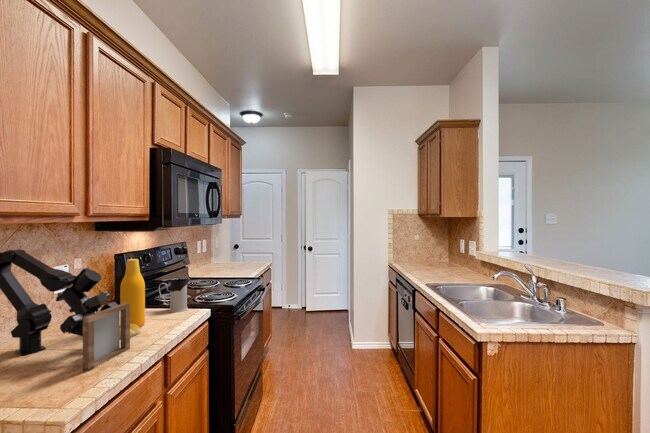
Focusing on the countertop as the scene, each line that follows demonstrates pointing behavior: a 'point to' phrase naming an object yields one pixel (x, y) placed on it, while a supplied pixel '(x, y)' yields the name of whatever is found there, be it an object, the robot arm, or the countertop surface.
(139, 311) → the beer bottle
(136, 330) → the bread roll
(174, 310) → the grey cylinder with handle
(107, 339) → the door
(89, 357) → the door frame
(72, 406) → the countertop surface
